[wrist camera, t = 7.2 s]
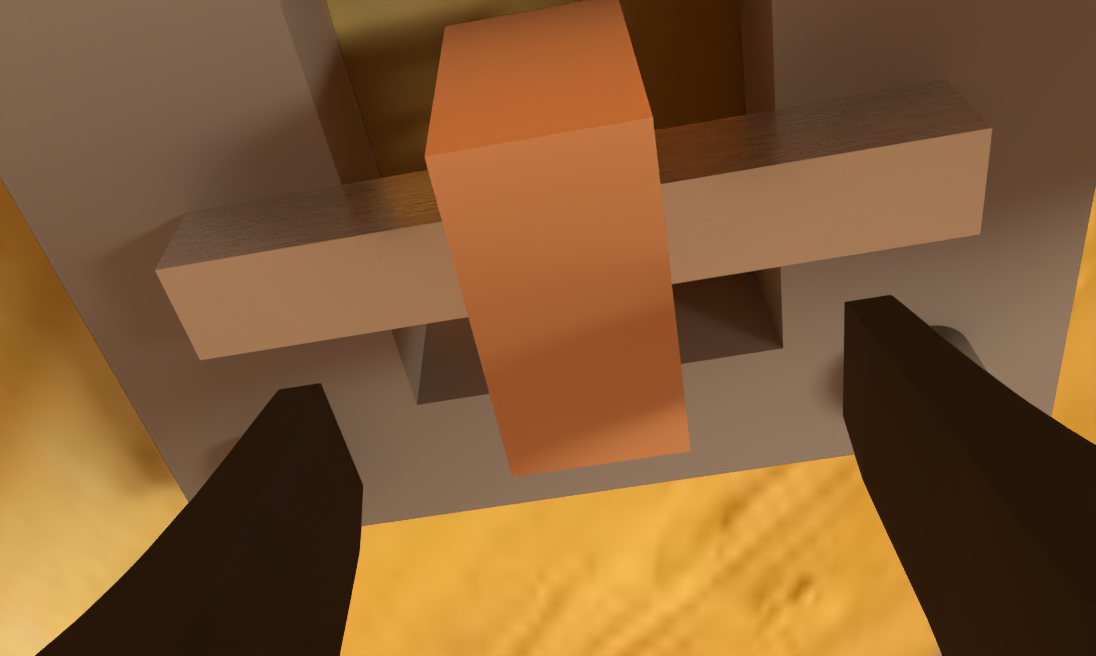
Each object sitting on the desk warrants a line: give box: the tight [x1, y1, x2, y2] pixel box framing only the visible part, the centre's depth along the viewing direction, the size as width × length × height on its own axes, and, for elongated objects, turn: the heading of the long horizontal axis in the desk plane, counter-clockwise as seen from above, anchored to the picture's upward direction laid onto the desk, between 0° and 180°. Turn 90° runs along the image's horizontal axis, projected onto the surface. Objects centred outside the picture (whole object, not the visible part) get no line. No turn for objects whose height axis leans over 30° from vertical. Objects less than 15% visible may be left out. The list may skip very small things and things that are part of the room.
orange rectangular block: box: [424, 0, 691, 477], centre depth 16 cm, size 3×6×5 cm, turn 10°
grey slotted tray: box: [0, 0, 1096, 526], centre depth 18 cm, size 20×16×5 cm
